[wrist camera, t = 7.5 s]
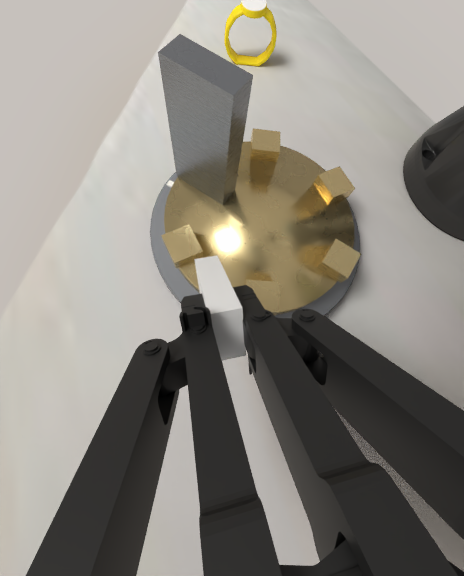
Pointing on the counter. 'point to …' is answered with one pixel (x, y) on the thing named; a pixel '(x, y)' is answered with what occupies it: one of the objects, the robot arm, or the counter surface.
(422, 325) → the counter surface
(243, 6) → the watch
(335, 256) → the gold disc with cubes
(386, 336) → the counter surface
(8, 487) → the counter surface
